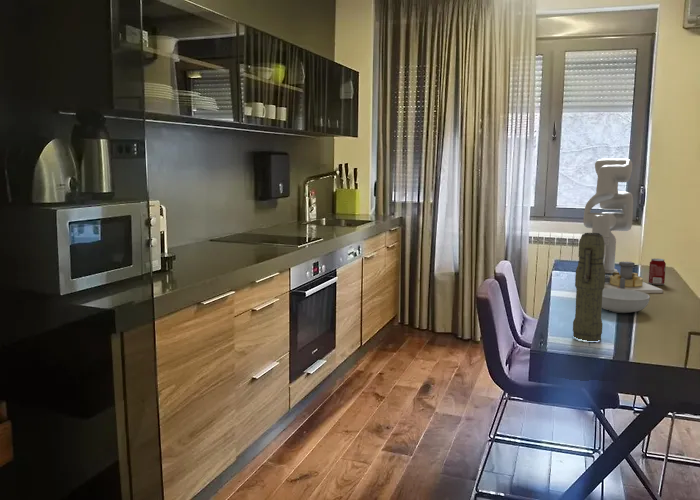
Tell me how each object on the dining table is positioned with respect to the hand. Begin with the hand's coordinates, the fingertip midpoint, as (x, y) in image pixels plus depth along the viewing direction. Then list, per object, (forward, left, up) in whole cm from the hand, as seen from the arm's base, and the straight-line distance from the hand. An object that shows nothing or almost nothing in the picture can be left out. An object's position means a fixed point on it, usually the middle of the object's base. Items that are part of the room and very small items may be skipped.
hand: (598, 279), depth 279 cm
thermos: (+87, -40, -3) cm, 96 cm away
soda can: (0, +28, -3) cm, 28 cm away
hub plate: (+7, +10, -3) cm, 12 cm away
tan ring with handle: (+5, +5, -1) cm, 7 cm away
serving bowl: (+49, -12, -3) cm, 50 cm away
